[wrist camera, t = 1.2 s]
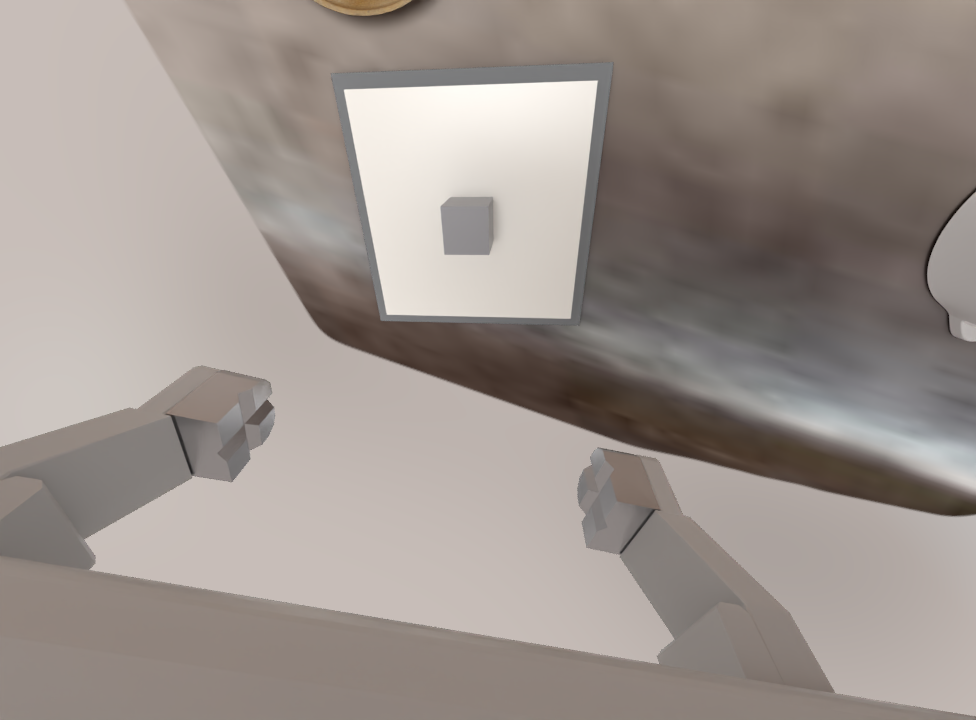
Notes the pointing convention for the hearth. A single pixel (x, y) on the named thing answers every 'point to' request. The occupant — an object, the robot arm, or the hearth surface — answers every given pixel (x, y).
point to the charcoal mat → (483, 77)
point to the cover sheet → (475, 194)
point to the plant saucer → (362, 6)
